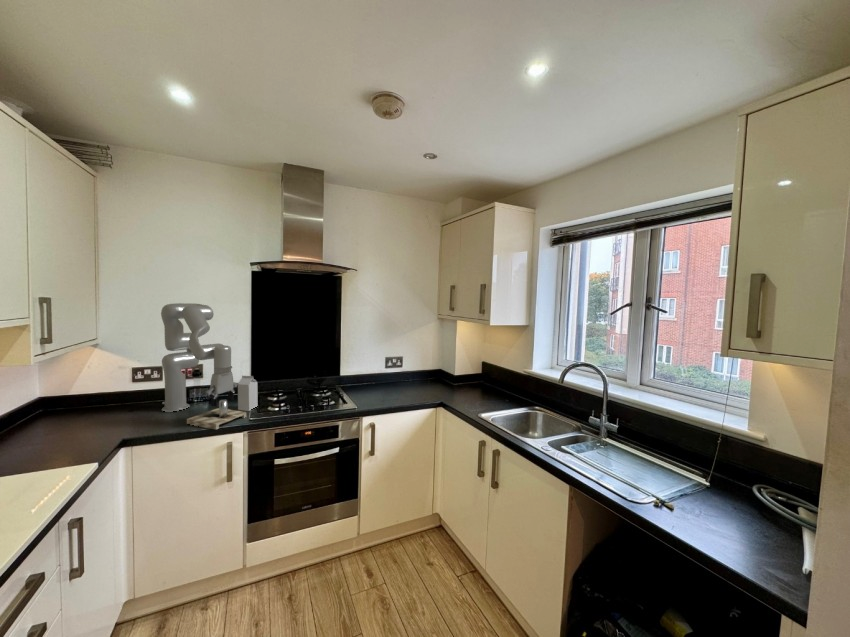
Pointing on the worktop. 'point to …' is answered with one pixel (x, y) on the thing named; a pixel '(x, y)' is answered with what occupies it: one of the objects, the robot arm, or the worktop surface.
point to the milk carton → (247, 393)
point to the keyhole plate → (214, 419)
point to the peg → (223, 409)
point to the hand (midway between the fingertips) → (222, 403)
